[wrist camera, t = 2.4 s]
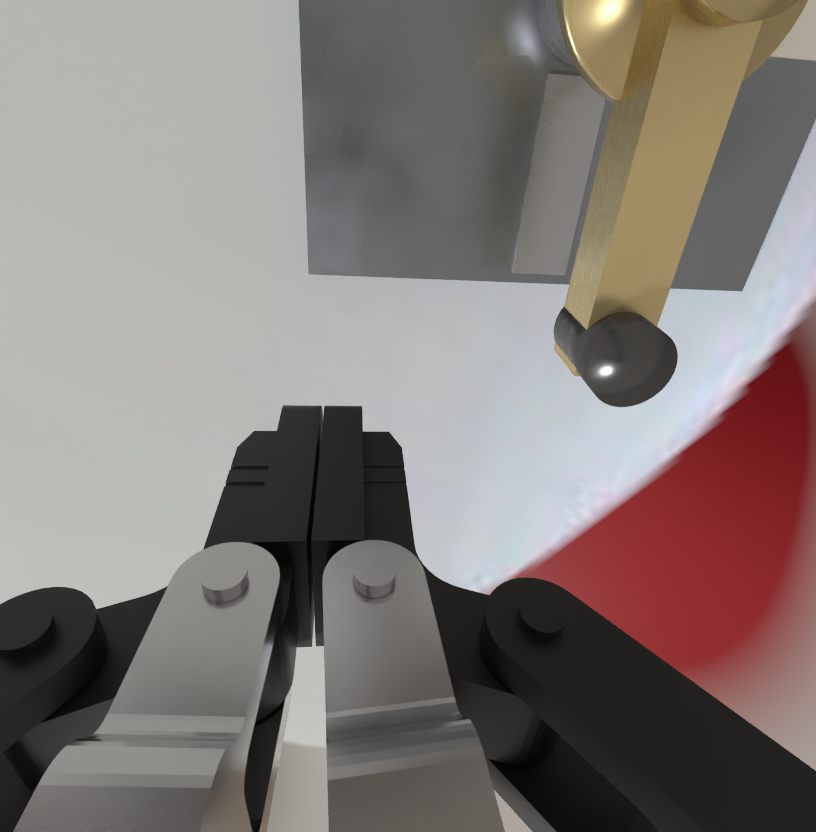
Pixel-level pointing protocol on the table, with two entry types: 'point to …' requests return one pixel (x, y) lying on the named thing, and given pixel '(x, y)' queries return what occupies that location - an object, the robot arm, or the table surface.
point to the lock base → (506, 145)
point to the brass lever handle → (650, 168)
